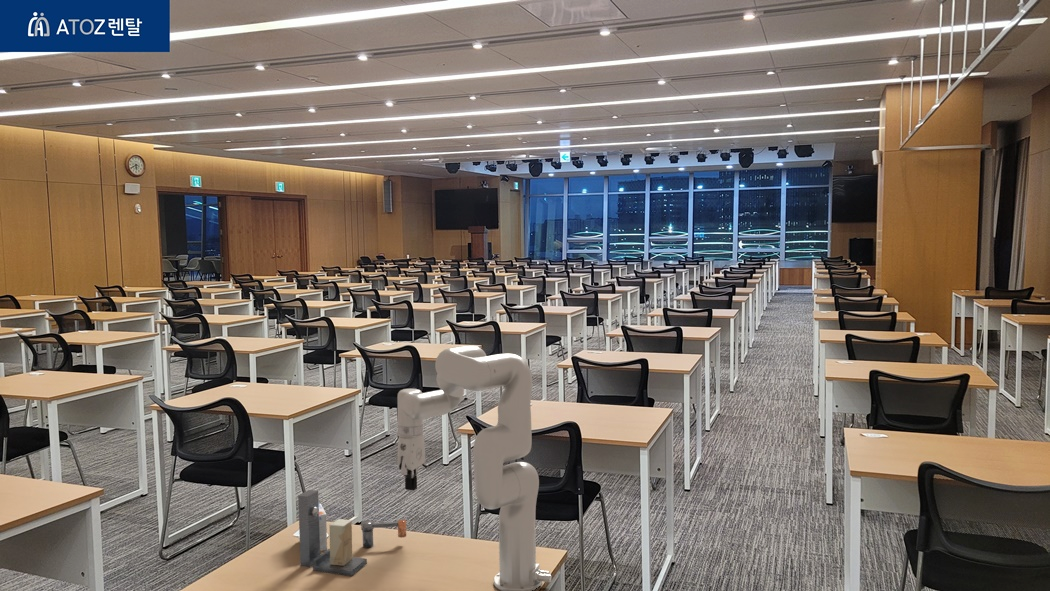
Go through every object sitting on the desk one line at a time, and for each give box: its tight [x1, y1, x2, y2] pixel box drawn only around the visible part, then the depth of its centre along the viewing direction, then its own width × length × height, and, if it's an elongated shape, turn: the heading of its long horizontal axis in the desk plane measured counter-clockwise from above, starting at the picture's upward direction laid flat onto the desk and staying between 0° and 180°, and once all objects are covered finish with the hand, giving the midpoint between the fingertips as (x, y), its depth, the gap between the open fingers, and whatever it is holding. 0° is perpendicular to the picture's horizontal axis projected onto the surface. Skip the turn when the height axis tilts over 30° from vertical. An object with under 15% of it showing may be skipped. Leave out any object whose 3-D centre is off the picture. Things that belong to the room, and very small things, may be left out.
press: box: [297, 489, 368, 577], centre depth 202 cm, size 17×8×20 cm, turn 72°
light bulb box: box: [319, 503, 328, 552], centre depth 217 cm, size 11×7×11 cm, turn 25°
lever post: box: [361, 529, 374, 549], centre depth 216 cm, size 3×3×5 cm
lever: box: [360, 519, 407, 538], centre depth 216 cm, size 13×4×5 cm, turn 97°
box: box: [329, 518, 353, 566], centre depth 202 cm, size 5×4×11 cm
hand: (411, 489), depth 223 cm, fingers closed
